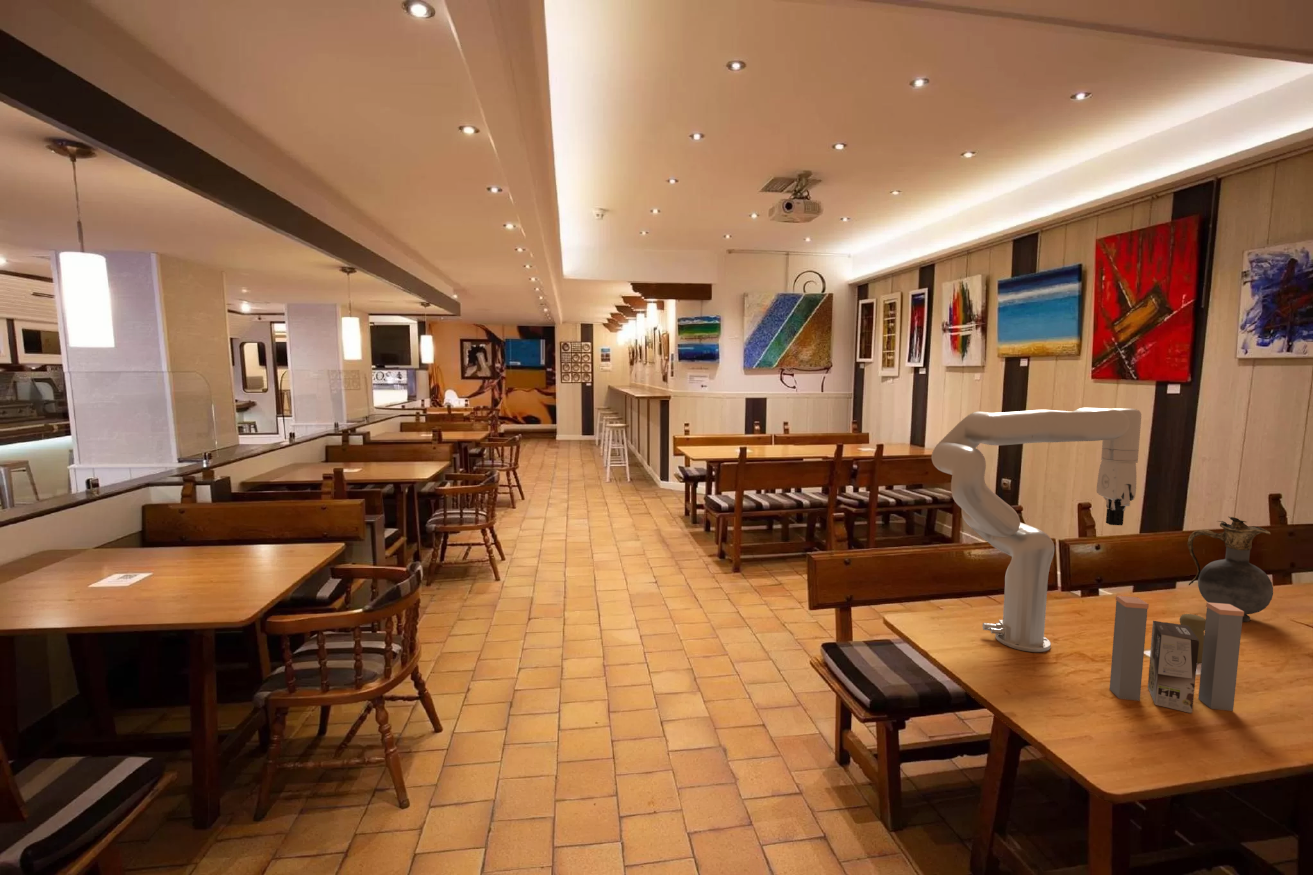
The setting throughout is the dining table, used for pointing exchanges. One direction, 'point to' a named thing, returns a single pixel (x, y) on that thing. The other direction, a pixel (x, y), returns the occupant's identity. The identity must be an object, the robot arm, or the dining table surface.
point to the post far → (1220, 655)
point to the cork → (1195, 629)
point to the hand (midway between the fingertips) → (1114, 524)
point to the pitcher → (1234, 571)
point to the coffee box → (1173, 665)
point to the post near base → (1128, 647)
